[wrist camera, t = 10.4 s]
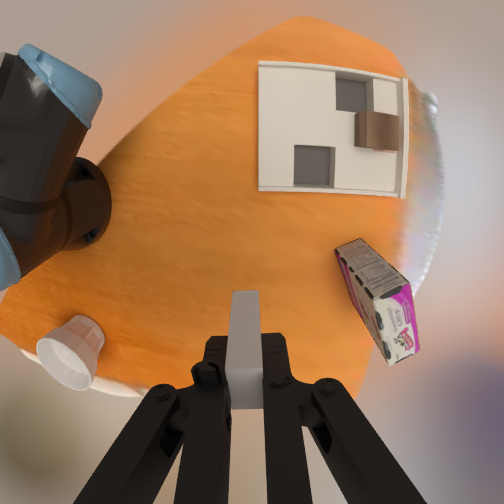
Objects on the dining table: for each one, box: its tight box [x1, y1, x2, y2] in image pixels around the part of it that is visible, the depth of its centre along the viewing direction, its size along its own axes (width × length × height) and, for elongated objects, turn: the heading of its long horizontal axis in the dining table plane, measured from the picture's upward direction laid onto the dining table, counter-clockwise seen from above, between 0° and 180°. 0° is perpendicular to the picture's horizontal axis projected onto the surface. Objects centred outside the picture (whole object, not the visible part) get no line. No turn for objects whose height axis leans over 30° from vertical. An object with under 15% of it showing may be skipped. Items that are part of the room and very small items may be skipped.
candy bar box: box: [334, 238, 420, 366], centre depth 36 cm, size 11×5×16 cm, turn 25°
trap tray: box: [258, 61, 409, 199], centre depth 34 cm, size 20×17×5 cm
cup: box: [36, 315, 105, 391], centre depth 44 cm, size 12×12×11 cm
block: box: [354, 110, 399, 151], centre depth 31 cm, size 4×4×4 cm
